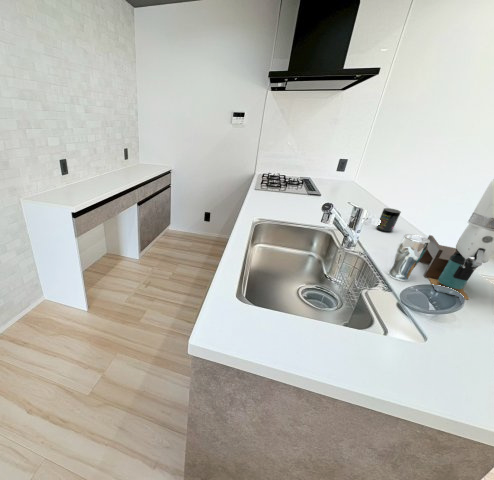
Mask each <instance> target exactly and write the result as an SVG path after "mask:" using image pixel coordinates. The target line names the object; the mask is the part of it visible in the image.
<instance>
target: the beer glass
mask: <svg viewBox="0 0 494 480" xmlns="http://www.w3.org/2000/svg"><path fill="white" fill-rule="evenodd" d="M429 243H430V240H428V237H427V238H426V237H424V236H423V235H422V236H421V235H417V234H412V233H407V234H405V233H404V235H403V236H402V239H401V240H400V242H399V243H398V246H397V248H396V252H395V256H394V260H393V264H392V266H391V267H390V269H389V270H388V271H387V275H388V276H389V277H391V278H392V279H394V280H396V281H401V282H409V281H410V279H411V275H412V273H413V271H414V269H415V268H416V266H417V265H418V264H419V263H421V262H420V260H421V259H422V258H423V256H424V254H425V252H426V250H427V248H428V245H429Z"/></svg>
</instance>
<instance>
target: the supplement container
mask: <svg viewBox="0 0 494 480" xmlns="http://www.w3.org/2000/svg"><path fill="white" fill-rule="evenodd" d="M401 213H402V211H400V210H398V209H396V208H389V207H384V208H383V209H382V212H381V213H380V217H379V219H380V220H381V223H380V225H378V226H377V225H376V228H375V229H376V230H377V231H379V232H382V233H387V234H388V233H392V232H393V231H394V229H395V226H396V224H397V222H398V220H399V218H400V216H401Z"/></svg>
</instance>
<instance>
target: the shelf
mask: <svg viewBox="0 0 494 480" xmlns="http://www.w3.org/2000/svg"><path fill="white" fill-rule="evenodd" d="M427 239H428V240H430V243H429V245H428V248H427V250H426V252H425V254H424V256H423V258H422V259H421V260H420V262H419V263H422V264H426V265H428V267H427V268H426V270H425V272H424V274H423V277H424V278H427V279H429V278H432V279H436V280H438V278H439V277H440V275H441V273H442V271H443V270H444V268H445V266H446V265H447V263H448V261H449V259H450V257H451V255H453V254H454V253H455V252H456V247H452V246H447V245H442V244H440V243H438V241H437V239H436V238H435V237H434V236H433V235H431V234H429V235H428V236H427Z"/></svg>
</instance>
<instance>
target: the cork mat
mask: <svg viewBox="0 0 494 480" xmlns="http://www.w3.org/2000/svg"><path fill="white" fill-rule="evenodd" d="M428 281H429V283H430V285H431V284H434V285H441V286H445V285H443V284H442V283H440V282H439V281H438V280H436V279H432V278H428ZM445 287H448V286H445ZM449 288H451V287H449ZM452 289H454V290H456V291H458V292H459V293H461V294H462V295H463V296H464V298H465V299H464V300H467V301H469V299H470V297H469V295H468V294H467V293H466V291H465V290H464V289H455V288H452Z"/></svg>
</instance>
